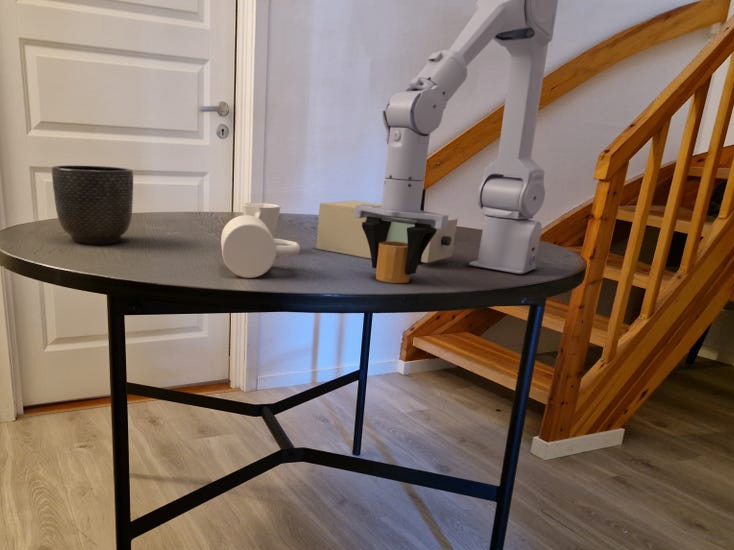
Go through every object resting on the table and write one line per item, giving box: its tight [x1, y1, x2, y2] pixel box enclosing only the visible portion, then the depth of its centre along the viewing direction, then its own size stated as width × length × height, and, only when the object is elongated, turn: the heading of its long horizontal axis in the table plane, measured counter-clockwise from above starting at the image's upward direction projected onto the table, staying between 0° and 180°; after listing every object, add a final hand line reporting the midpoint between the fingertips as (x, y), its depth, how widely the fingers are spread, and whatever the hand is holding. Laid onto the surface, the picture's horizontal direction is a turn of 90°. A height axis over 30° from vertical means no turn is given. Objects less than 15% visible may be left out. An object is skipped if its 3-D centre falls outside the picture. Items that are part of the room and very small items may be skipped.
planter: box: [51, 165, 134, 246], centre depth 111 cm, size 14×14×13 cm
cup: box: [241, 202, 281, 238], centre depth 112 cm, size 7×10×8 cm
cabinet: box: [316, 199, 382, 260], centre depth 117 cm, size 14×12×9 cm
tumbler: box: [375, 241, 411, 284], centre depth 95 cm, size 5×5×6 cm
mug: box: [220, 214, 301, 279], centre depth 94 cm, size 12×10×8 cm
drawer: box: [386, 216, 458, 264], centre depth 111 cm, size 14×10×7 cm
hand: (393, 270), depth 95 cm, fingers closed on tumbler, 5 cm apart
